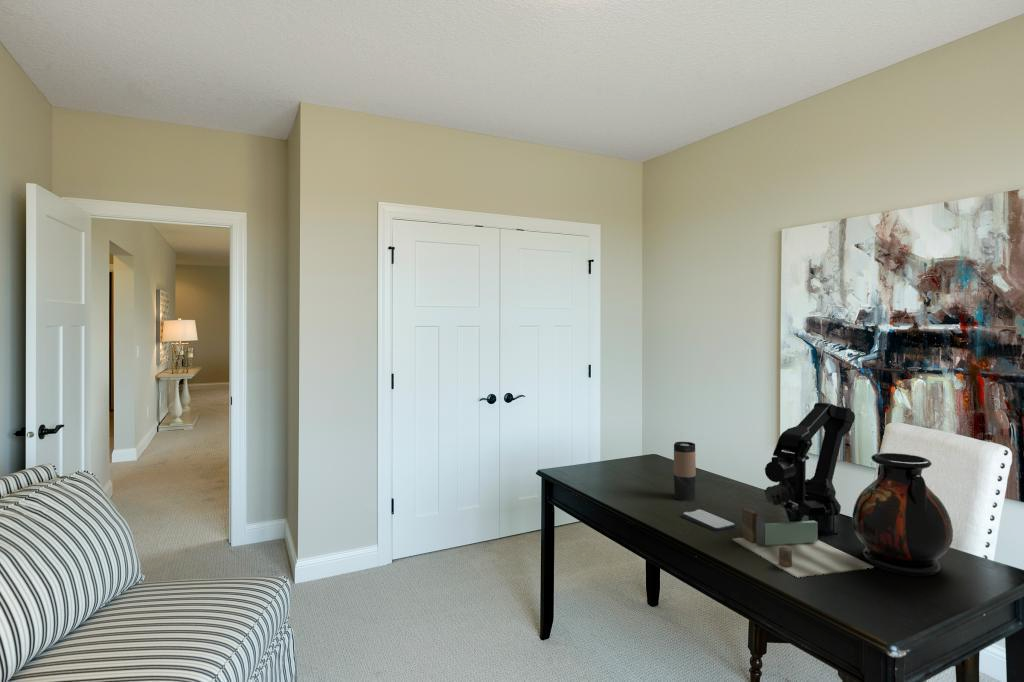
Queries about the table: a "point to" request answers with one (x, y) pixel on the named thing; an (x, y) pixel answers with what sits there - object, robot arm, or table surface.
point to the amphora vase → (902, 518)
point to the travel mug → (684, 470)
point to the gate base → (799, 553)
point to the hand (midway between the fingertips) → (793, 529)
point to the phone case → (708, 520)
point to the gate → (785, 532)
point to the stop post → (785, 557)
